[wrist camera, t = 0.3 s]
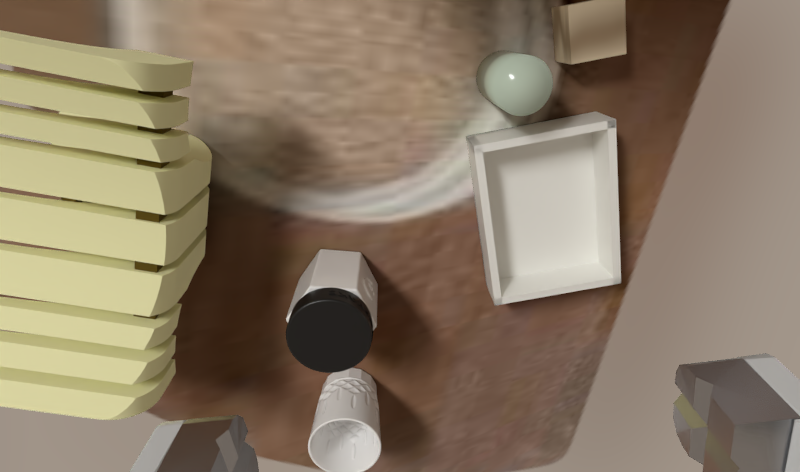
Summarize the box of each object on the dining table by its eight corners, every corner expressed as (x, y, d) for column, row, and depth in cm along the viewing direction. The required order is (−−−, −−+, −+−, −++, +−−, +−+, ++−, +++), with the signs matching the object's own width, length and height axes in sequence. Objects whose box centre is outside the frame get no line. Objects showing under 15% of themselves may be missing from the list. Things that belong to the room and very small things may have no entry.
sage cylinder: (473, 56, 52) (490, 61, 44) (523, 46, 52) (550, 49, 43) (479, 106, 54) (497, 120, 45) (528, 97, 54) (554, 110, 45)
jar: (387, 298, 62) (388, 358, 50) (325, 324, 63) (312, 388, 51) (353, 234, 59) (347, 282, 47) (289, 262, 60) (267, 316, 48)
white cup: (354, 351, 64) (349, 406, 55) (394, 392, 67) (395, 451, 57) (305, 385, 66) (292, 444, 56) (346, 424, 68) (340, 486, 59)
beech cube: (551, 7, 51) (568, 5, 46) (602, -3, 51) (625, -6, 46) (554, 61, 53) (571, 64, 48) (604, 51, 52) (626, 53, 48)
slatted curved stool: (208, 319, 62) (144, 425, 45) (66, 297, 60) (-53, 399, 44) (228, 55, 51) (155, 67, 35) (58, 20, 50) (-105, 16, 33)
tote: (465, 136, 55) (473, 146, 50) (595, 111, 54) (615, 119, 50) (486, 284, 61) (494, 305, 57) (602, 263, 61) (621, 283, 56)
